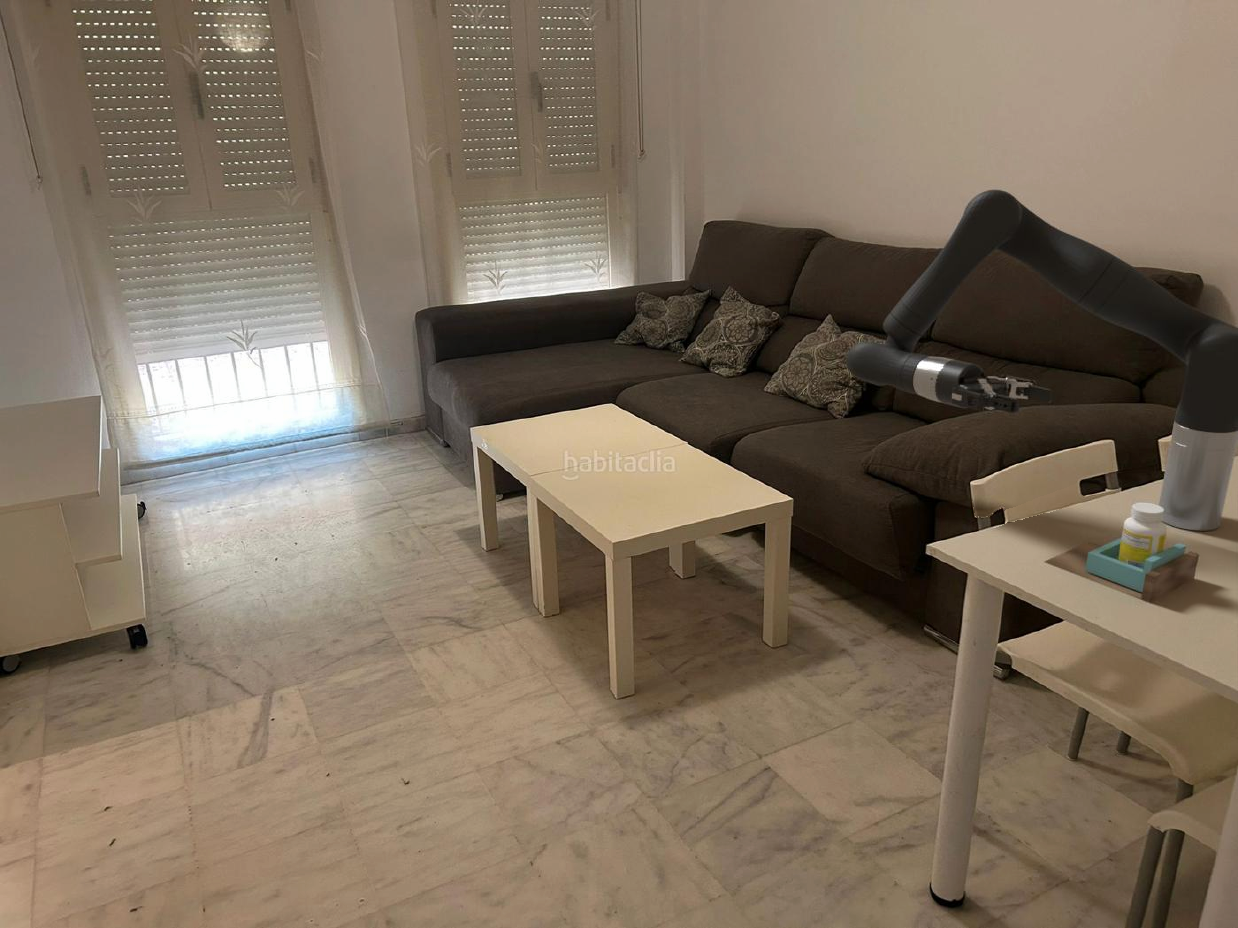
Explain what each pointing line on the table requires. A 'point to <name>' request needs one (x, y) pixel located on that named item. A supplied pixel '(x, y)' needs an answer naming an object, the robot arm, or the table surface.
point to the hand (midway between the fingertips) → (1034, 401)
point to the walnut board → (1155, 580)
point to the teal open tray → (1125, 574)
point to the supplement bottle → (1142, 534)
